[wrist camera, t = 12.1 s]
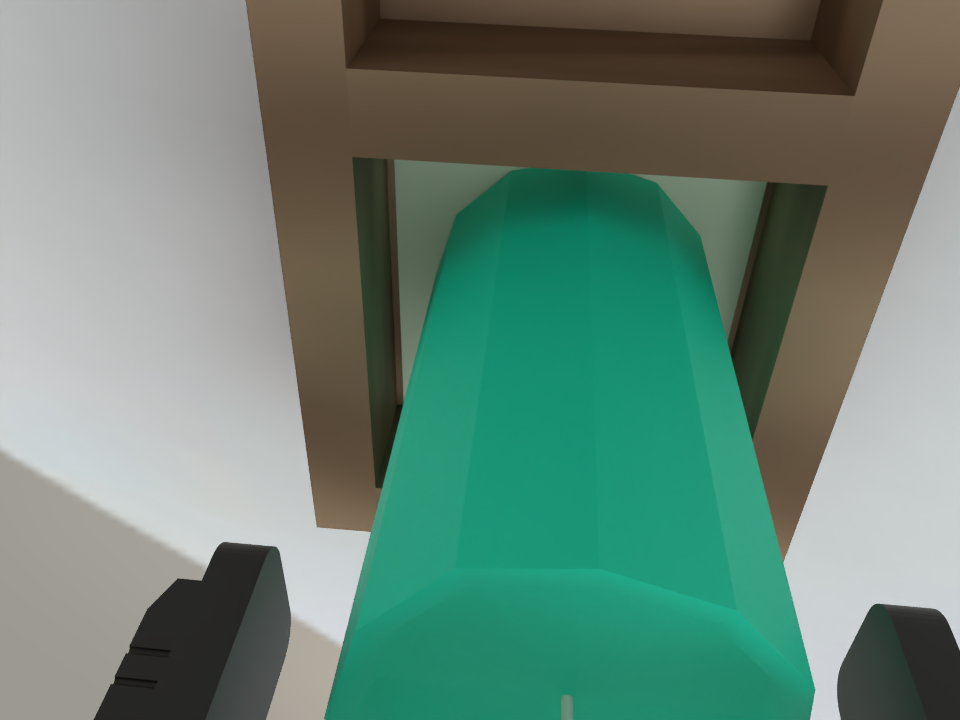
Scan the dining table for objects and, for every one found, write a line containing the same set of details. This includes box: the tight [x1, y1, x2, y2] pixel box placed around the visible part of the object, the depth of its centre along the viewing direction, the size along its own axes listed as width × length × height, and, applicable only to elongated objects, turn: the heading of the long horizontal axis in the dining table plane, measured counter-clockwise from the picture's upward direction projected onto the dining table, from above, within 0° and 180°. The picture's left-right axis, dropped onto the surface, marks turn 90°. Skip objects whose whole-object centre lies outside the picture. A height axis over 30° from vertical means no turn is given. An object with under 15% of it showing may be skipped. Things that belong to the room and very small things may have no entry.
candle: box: [324, 168, 815, 720], centre depth 14 cm, size 6×6×12 cm
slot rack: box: [246, 0, 960, 562], centre depth 15 cm, size 20×11×4 cm, turn 179°
